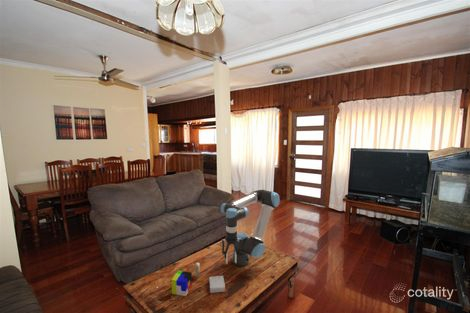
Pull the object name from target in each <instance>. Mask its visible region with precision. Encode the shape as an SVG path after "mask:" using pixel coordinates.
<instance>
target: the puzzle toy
mask: <svg viewBox="0 0 470 313" xmlns="http://www.w3.org/2000/svg"><path fill="white" fill-rule="evenodd" d="M192 274H193V272H191V271H184V270H178V271H177V272H176V273H175V275H174V276H173V277H172V279H171V294H173V295H179V296H181V297H182V296H183V297H187V295H188V293H189V292H190V290H191V288H192V286H193V275H192Z"/></svg>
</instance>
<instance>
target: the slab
mask: <svg viewBox="0 0 470 313" xmlns="http://www.w3.org/2000/svg"><path fill="white" fill-rule="evenodd" d="M208 278H209V293H210V294H213V293H214V294H215V293H221V292H222V293H223V292H226V284H225V279H224V278H225V277H224V275H216V276H215V275H213V276H209V277H208Z"/></svg>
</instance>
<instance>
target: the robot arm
mask: <svg viewBox="0 0 470 313" xmlns="http://www.w3.org/2000/svg"><path fill="white" fill-rule="evenodd" d="M280 201H281V199H280V195H279V194H278V193H277V192H275V191H270V190H266V189H257V190H253V191H251V192H249V193H248V194H247V195H245V196H243V197H241V198H238V199H236V200H234V201H232V202H230V203H229V202H226V203H225V202H224V203H222V204H221V205H220V212H221V213H223V214H225V220H226V223H225V231H226V232H225V238H224V239H223V238H222V239H221V243H222V246H221V254H222V255H224V260H225V264H226V265H228V260H229V259H228V251H229V248H230V245H233V253H232V256H231V263H232V264H233V265H235V266H238V267H244V266H247V265H248V264H249V263H250V256H251V257H253V258H256V259H259V258H260V257H261V256H262V255H263V254H264V252H265V250H266V246H265V244H264V243H265V241H264V236H265V233H266V230H267V227H268V224H269V222H270V217H271V214H272V212H273V210H275V208H277V207H279V205H280ZM256 203H260V204H261V210H260V213H259V215H258V219H257V221H256V225H255V228H254V230H253V234H252V235H250V237H249V235H248V233H245V232H239V233H238V221H240V220H243V219H245V218H247V217H248V216H249V214H250V213H249V212H250V211H249V209H248V207H247V206H249V205H251V204H256ZM225 243H226V245H225Z"/></svg>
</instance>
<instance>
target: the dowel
mask: <svg viewBox="0 0 470 313" xmlns="http://www.w3.org/2000/svg"><path fill="white" fill-rule="evenodd" d="M200 268H201V267H200V262H195V263H194V278H195V279H199V278H201V277H200V275H201V274H200Z"/></svg>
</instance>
